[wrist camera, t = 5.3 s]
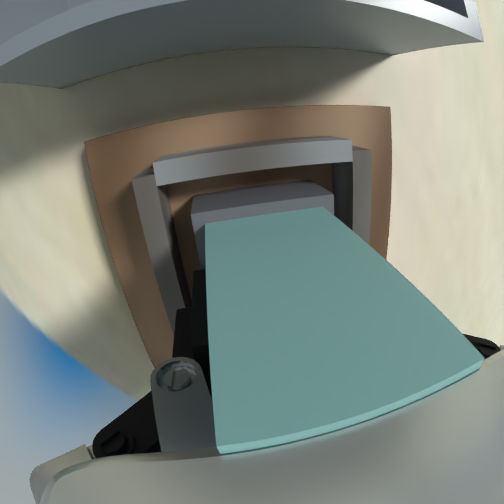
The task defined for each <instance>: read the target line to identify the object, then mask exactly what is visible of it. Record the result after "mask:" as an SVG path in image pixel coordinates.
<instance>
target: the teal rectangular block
mask: <svg viewBox="0 0 504 504" xmlns="http://www.w3.org/2000/svg"><path fill="white" fill-rule="evenodd" d="M191 219H192V224H193V229H194V235H195V240H196V245H197V250H198V255H199V260H200V265H201V270H202V269H206V294H207V319H208V340H209V358H210V373H211V388H212V401H213V413H214V425H215V436H216V446H217V448H218V450H219V453H220V455H221V454H229V453H236V452H243V451H249V450H255V449H261V448H266V447H272V446H276V445H281V444H286V443H290V442H295V441H299V440H303V439H307V438H311V437H315V436H319V435H322V434H326V433H329V432H333V431H336V430H340V429H343V428H346V427H349V426H352V425H355V424H358V423H361V422H364V421H367V420H370V419H373V418H375V417H378V416H381V415H383V414H386V413H389V412H391V411H394V410H396V409H399V408H401V407H403V406H406V405H408V404H411V403H413V402H415V401H417V400H420V399H422V398H424V397H426V396H428V395H430V394H433V393H435V392H437V391H439V390H441V389H443V388H445V387H447V386H449V385H451V384H453V383H455V382H457V381H458V380H460V379H462V378H464V377H466V376H468V375H469V374H471V373H473V372H475V371H476V370H478V369H479V368H480V366H481V364H482V362H483V360H484V357H483V356H482V355H481V354H480V352H479V351H478V350H477V349H476V348H475V347H474V346H473V345H472V344H471V343H470V342H469V340H468V339H467V338H466V337H465V336H464V335H463V334H462V333H461V332H460V331H459V330H458V329H457V328H456V327H455V326H454V325H453V324H452V323H451V322H450V321H449V320H448V319H447V317H446V316H445V315H444V314H443V313H442V312H441V311H440V310H439V309H438V308H437V307H436V306H435V305H434V304H433V303H431V302H430V301H429V300H428V299H427V298H426V297H425V296H424V295H423V294H422V293H421V292H420V291H419V290H418V289H417V288H416V287H415V286H414V285H413V284H412V283H411V282H410V281H409V280H407V279H406V278H405V277H404V276H403V275H402V274H401V273H400V272H399V271H398V270H397V269H396V268H394V267H393V266H392V265H391V264H390V263H389V262H388V261H387V260H386V259H384V258H383V257H382V256H381V255H380V254H379V253H378V252H377V251H375V250H374V249H373V248H372V247H371V246H370V245H369V244H367V243H366V242H365V241H364V240H363V239H362V238H360V237H359V236H358V235H357V234H356V233H355V232H353V231H352V230H351V229H350V228H349V227H347V226H346V225H345V224H344V223H343V222H341V221H340V220H339V219H338V218H336V217H335V216H334V194H332V193H331V192H329V191H328V190H326V189H325V188H323V187H321V186H320V185H318V184H317V183H315V182H313V181H312V180H310V179H309V180H300V181H291V182H282V183H274V184H266V185H258V186H251V187H244V188H237V189H230V190H223V191H217V192H210V193H204V194H198V195H193V202H192V209H191Z"/></svg>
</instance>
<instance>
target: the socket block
mask: <svg viewBox="0 0 504 504" xmlns="http://www.w3.org/2000/svg"><path fill="white" fill-rule="evenodd" d="M84 144H85V150H86V155H87V160H88V165H89V170H90V175H91V180H92V184H93V189H94V193H95V197H96V201H97V205H98V209H99V213H100V217H101V221H102V225H103V228H104V232H105V235H106V239H107V242H108V246H109V249H110V252H111V255H112V259H113V262H114V265H115V268H116V271H117V274H118V277H119V280H120V283H121V286H122V289H123V291H124V294H125V297H126V300H127V302H128V305H129V308H130V310H131V313H132V316H133V318H134V321H135V323H136V326H137V328H138V331H139V333H140V336H141V338H142V340H143V343H144V345H145V347H146V350H147V352H148V354H149V357H150V359H151V361H152V363H153V365H154V368H156V367H157V366H158V365H159V364H160V363H162V362H163V361H165V360H168V359H170V358H172V353H173V341H174V330H175V319H176V311H177V309H182V308H189V307H192V288H193V271H195V270H201V265H200V260H199V255H198V250H197V245H196V240H195V235H194V229H193V224H192V219H191V209H192V202H193V195H198V194H204V193H210V192H217V191H223V190H230V189H237V188H244V187H251V186H258V185H266V184H274V183H282V182H291V181H300V180H309V179H310V180H312V181H313V182H315V183H317V184H318V185H320V186H321V187H323V188H325V189H326V190H328V191H329V192H331V193H332V194H334V216H335V217H336V218H338V219H339V220H340V221H341V222H343V223H344V224H345V225H346V226H347V227H349V228H350V229H351V230H352V231H353V232H355V233H356V234H357V235H358V236H359V237H360V238H362V239H363V240H364V241H365V242H366V243H367V244H369V245H370V246H371V247H372V248H373V249H374V250H375V251H377V252H378V253H379V254H380V255H381V256H382V257H383V258H384V259H386V257H387V247H388V236H389V223H390V206H391V180H392V139H391V113H390V107H383V106H360V105H309V106H286V107H271V108H258V109H248V110H238V111H230V112H222V113H214V114H207V115H201V116H194V117H188V118H182V119H177V120H171V121H166V122H161V123H156V124H152V125H147V126H142V127H138V128H134V129H130V130H125V131H121V132H117V133H114V134H110V135H106V136H103V137H99V138H95V139H92V140H89V141H85V142H84Z"/></svg>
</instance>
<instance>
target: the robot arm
mask: <svg viewBox="0 0 504 504" xmlns="http://www.w3.org/2000/svg"><path fill="white" fill-rule="evenodd" d="M463 335H464V336H465V337H466V338H467V339H468V340H469V342H470V343H471V344H472V345H473V346H474V347H475V348H476V349H477V350H478V351H479V352H480V354H481V355H482V356H483V357H484V360H483V362H482V364H481V366H480V368H479V369H478V370H476V371H475V372H473V373H471V374H469V375H468V376H466V377H464V378H462V379H460V380H458V381H457V382H455V383H453V384H451V385H449V386H447V387H445V388H443V389H441V390H439V391H437V392H435V393H433V394H430V395H428V396H426V397H424V398H422V399H420V400H417V401H415V402H413V403H411V404H408V405H406V406H403V407H401V408H399V409H396V410H394V411H391V412H389V413H386V414H383V415H381V416H378V417H375V418H373V419H370V420H367V421H364V422H361V423H358V424H355V425H352V426H349V427H346V428H343V429H340V430H336V431H333V432H329V433H326V434H322V435H319V436H315V437H311V438H307V439H303V440H299V441H295V442H290V443H286V444H281V445H276V446H272V447H266V448H261V449H255V450H249V451H243V452H236V453H229V454H221V455H220V453H219V450H218V448H217V446H216V436H215V425H214V413H213V401H212V388H211V373H210V358H209V340H208V319H207V294H206V269H202V270H195V271H193V288H192V307H189V308H182V309H177V311H176V319H175V330H174V341H173V353H172V358H170V359H168V360H165V361H163V362H162V363H160V364H159V365H158V366H157V367H156V368H155V369H154V370H153V372H152V374H151V380H150V382H151V390H152V391H150V392H149V393H148V394H147V395H145V396H144V397H143V398H142V399H140V400H139V401H138V402H137V403H135V404H134V405H133V406H131V407H130V408H129V409H128V410H126V411H125V412H124V413H123V414H121V415H120V416H119V417H117V418H116V419H115V420H113V421H112V422H111V423H109V424H108V425H107V426H106V427H104V428H103V429H102V430H101V431H100V432H99V433H98V434H97V435H96V437H95V438H94V440H93V445H91V446H89V447H87V446H86V445H85V444H84V445H82V446H80V447H78V448H76V449H74V450H71V451H69V452H67V453H65V454H63V455H61V456H59V457H56V458H54V459H52V460H50V461H47V462H45V463H43V464H40V465H39V466H37V467H36V468H35V469H34V470H33V471H32V473H31V476H30V486H31V490H32V492H33V495H34V499H35V501H36V504H504V345H500V347H498V346H497V345H496V344H495V343H493V342H492V341H490V340H487V339H483V338H479V337H474V336H470V335H466V334H463Z"/></svg>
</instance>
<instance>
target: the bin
mask: <svg viewBox="0 0 504 504" xmlns="http://www.w3.org/2000/svg"><path fill="white" fill-rule="evenodd" d="M475 42H484V40H483V35H482V30H481V25H480V20H479V16H478V12H477V8H476V4H475V0H0V82H3V83H16V84H27V85H37V86H45V87H53V88H60V89H62V88H65V87H68V86H70V85H73V84H76V83H78V82H81V81H84V80H87V79H90V78H93V77H96V76H99V75H103V74H106V73H109V72H113V71H116V70H120V69H124V68H127V67H131V66H135V65H139V64H143V63H148V62H152V61H157V60H162V59H167V58H172V57H178V56H183V55H190V54H196V53H203V52H211V51H220V50H229V49H241V48H257V47H323V48H338V49H350V50H360V51H368V52H376V53H382V54H389V55H397V54H402V53H407V52H412V51H417V50H423V49H428V48H435V47H441V46H448V45H456V44H465V43H475Z"/></svg>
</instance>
